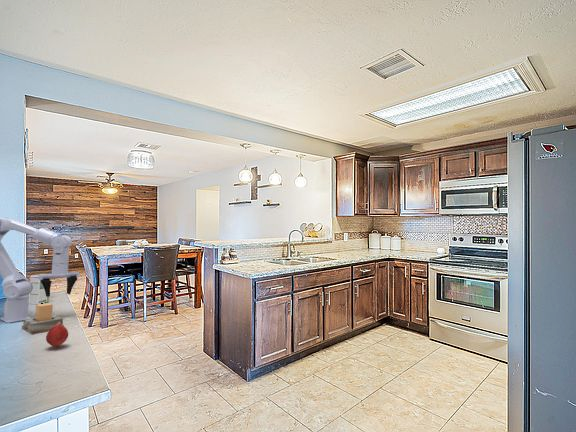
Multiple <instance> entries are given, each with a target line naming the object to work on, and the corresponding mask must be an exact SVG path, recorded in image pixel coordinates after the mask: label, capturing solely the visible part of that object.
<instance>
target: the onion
mask: <svg viewBox="0 0 576 432" xmlns="http://www.w3.org/2000/svg"><path fill="white" fill-rule="evenodd" d="M45 336H46V337H45V341H46V343H47V344H48V345H49V346H52V347H54V348H60V346H62V344H64V343H65V342H66V341H67V340H68V337H69V330H68V329H67V327H65V325H64V326H62V325H61V323H60V322H59V323H57V324H56V325H55V326H54V327H52V328H51V329H50V330H49V331H47V333H46V335H45Z"/></svg>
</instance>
